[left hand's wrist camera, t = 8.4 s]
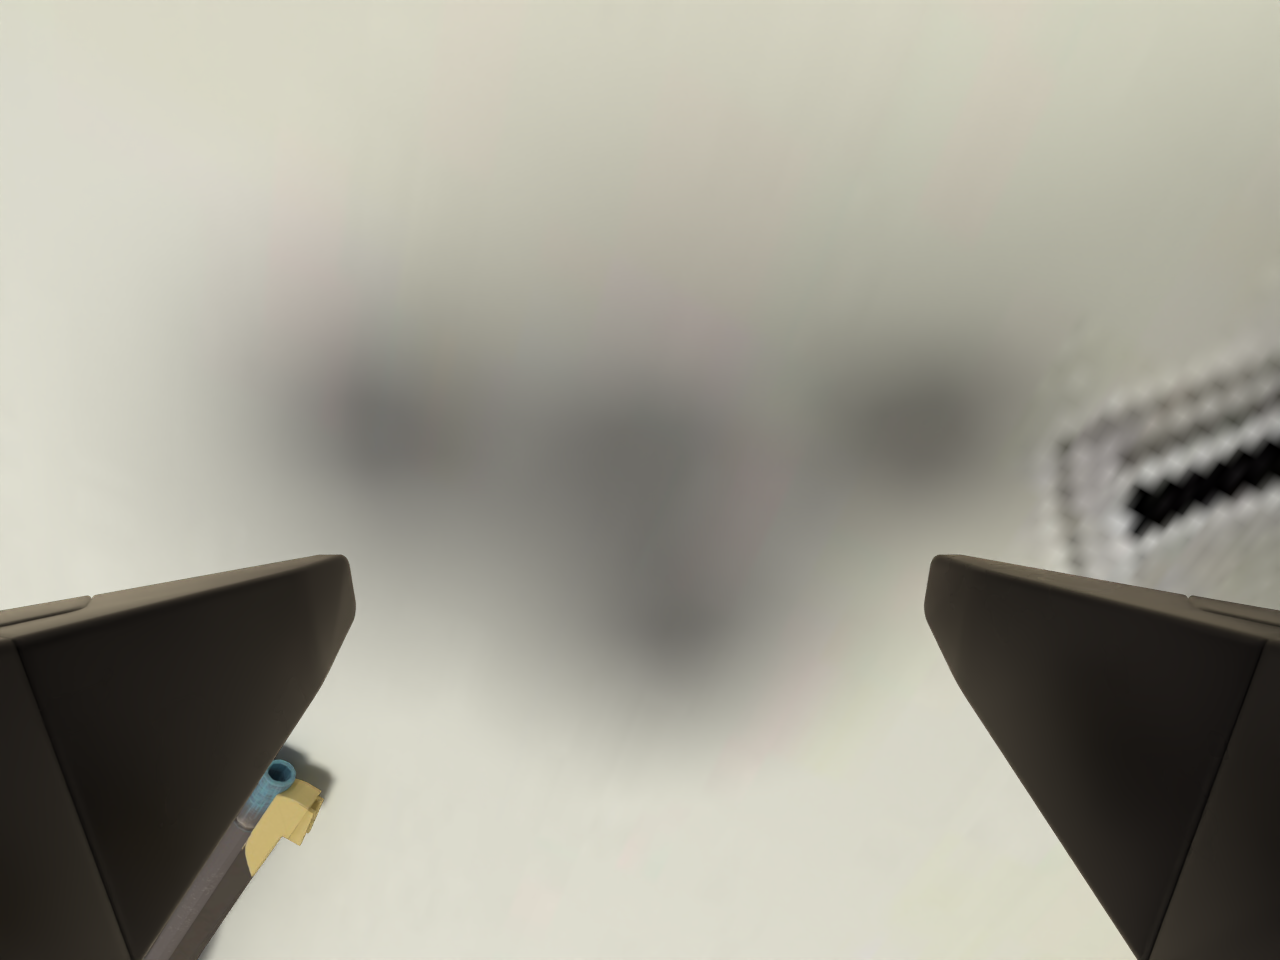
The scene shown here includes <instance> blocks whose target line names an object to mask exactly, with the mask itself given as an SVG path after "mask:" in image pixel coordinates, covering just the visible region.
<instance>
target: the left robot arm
mask: <svg viewBox="0 0 1280 960" xmlns="http://www.w3.org/2000/svg"><path fill="white" fill-rule="evenodd" d="M355 611H356V602H355V595H354V589H353V583H352V577H351V571H350V565H349V562H348V560H347V558H346V557H345V556H343V555H315V556H309V557H304V558H298V559H293V560H287V561H282V562H276V563H271V564H265V565H259V566H254V567H248V568H243V569H237V570H232V571H226V572H221V573H215V574H209V575H204V576H198V577H193V578H187V579H182V580H176V581H171V582H165V583H160V584H154V585H148V586H143V587H137V588H132V589H126V590H121V591H115V592H110V593H104V594H98V595H94V596H93V597H92V599H91V597H90V596H82V597H76V598H71V599H65V600H59V601H53V602H48V603H42V604H36V605H30V606H25V607H19V608H13V609H7V610H1V611H0V960H143V958H144V957H145V955H146V954H147V952H148V951H149V949H150V948H151V946H152V945H153V943H154V941H155V940H156V938H157V937H158V935H159V934H160V932H161V931H162V929H163V928H164V926H165V925H166V923H167V922H168V920H169V919H170V917H171V915H172V914H173V912H174V911H175V909H176V908H177V906H178V905H179V903H180V902H181V900H182V899H183V897H184V896H185V894H186V893H187V891H188V890H189V888H190V886H191V885H192V883H193V882H194V880H195V879H196V877H197V876H198V874H199V873H200V871H201V870H202V868H203V867H204V865H205V864H206V862H207V861H208V859H209V857H210V856H211V854H212V853H213V851H214V850H215V848H216V847H217V845H218V844H219V842H220V841H221V839H222V838H223V836H224V835H225V833H226V831H227V830H228V828H229V827H230V825H231V824H232V822H233V821H234V819H235V818H236V816H237V815H238V813H239V812H240V810H241V809H242V807H243V806H244V804H245V802H246V801H247V799H248V798H249V796H250V795H251V793H252V792H253V790H254V789H255V787H256V786H257V784H258V783H259V781H260V780H261V778H262V777H263V775H264V773H265V772H266V770H267V769H268V767H269V766H270V764H271V763H272V761H273V760H274V758H275V757H276V755H277V754H278V752H279V751H280V749H281V747H282V746H283V744H284V743H285V741H286V740H287V738H288V737H289V735H290V734H291V732H292V731H293V729H294V728H295V726H296V725H297V723H298V722H299V720H300V718H301V717H302V715H303V714H304V712H305V711H306V709H307V708H308V706H309V705H310V703H311V702H312V700H313V699H314V697H315V695H316V694H317V692H318V691H319V689H320V687H321V686H322V684H323V682H324V680H325V678H326V676H327V674H328V672H329V670H330V668H331V666H332V664H333V662H334V660H335V658H336V656H337V654H338V652H339V650H340V647H341V645H342V643H343V641H344V639H345V637H346V635H347V633H348V631H349V629H350V627H351V624H352V622H353V620H354V617H355ZM924 611H925V617H926V620H927V622H928V624H929V627H930V629H931V631H932V633H933V635H934V637H935V639H936V641H937V643H938V645H939V647H940V650H941V652H942V654H943V656H944V658H945V660H946V662H947V664H948V666H949V668H950V670H951V672H952V674H953V676H954V678H955V680H956V682H957V684H958V686H959V687H960V689H961V691H962V692H963V694H964V695H965V697H966V699H967V700H968V702H969V703H970V705H971V706H972V708H973V709H974V711H975V712H976V714H977V715H978V717H979V718H980V720H981V722H982V723H983V725H984V726H985V728H986V729H987V731H988V732H989V734H990V735H991V737H992V738H993V740H994V741H995V743H996V744H997V746H998V747H999V749H1000V750H1001V752H1002V754H1003V755H1004V757H1005V758H1006V760H1007V761H1008V763H1009V764H1010V766H1011V767H1012V769H1013V770H1014V772H1015V773H1016V775H1017V776H1018V778H1019V779H1020V781H1021V783H1022V784H1023V786H1024V787H1025V789H1026V790H1027V792H1028V793H1029V795H1030V796H1031V798H1032V799H1033V801H1034V802H1035V804H1036V805H1037V807H1038V808H1039V810H1040V812H1041V813H1042V815H1043V816H1044V818H1045V819H1046V821H1047V822H1048V824H1049V825H1050V827H1051V828H1052V830H1053V831H1054V833H1055V834H1056V836H1057V838H1058V839H1059V841H1060V842H1061V844H1062V845H1063V847H1064V848H1065V850H1066V851H1067V853H1068V854H1069V856H1070V857H1071V859H1072V860H1073V862H1074V863H1075V865H1076V867H1077V868H1078V870H1079V871H1080V873H1081V874H1082V876H1083V877H1084V879H1085V880H1086V882H1087V883H1088V885H1089V886H1090V888H1091V889H1092V891H1093V893H1094V894H1095V896H1096V897H1097V899H1098V900H1099V902H1100V903H1101V905H1102V906H1103V908H1104V909H1105V911H1106V912H1107V914H1108V915H1109V917H1110V919H1111V920H1112V922H1113V923H1114V925H1115V926H1116V928H1117V929H1118V931H1119V932H1120V934H1121V935H1122V937H1123V938H1124V940H1125V941H1126V943H1127V945H1128V946H1129V948H1130V949H1131V951H1132V952H1133V954H1134V955H1135V957H1136V958H1137V960H1280V611H1279V610H1273V609H1267V608H1261V607H1255V606H1250V605H1244V604H1238V603H1232V602H1227V601H1221V600H1215V599H1209V598H1204V597H1198V596H1190V597H1189V598H1188V597H1187V596H1186V595H1182V594H1177V593H1171V592H1166V591H1160V590H1154V589H1149V588H1143V587H1138V586H1132V585H1127V584H1121V583H1115V582H1110V581H1104V580H1099V579H1093V578H1088V577H1082V576H1076V575H1071V574H1065V573H1060V572H1054V571H1049V570H1043V569H1037V568H1032V567H1026V566H1021V565H1015V564H1010V563H1004V562H998V561H993V560H987V559H982V558H976V557H971V556H965V555H937V556H935V557H934V558H933V560H932V562H931V565H930V571H929V577H928V583H927V589H926V595H925V602H924Z"/></svg>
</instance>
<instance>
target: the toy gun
mask: <svg viewBox="0 0 1280 960" xmlns="http://www.w3.org/2000/svg"><path fill="white" fill-rule="evenodd" d="M295 777H296V771H295V769H294V767H293V765H291V764H290V763H289V762H287V761H284V760H282V759H281V760H273V761H272V763H271V764H270V766H269V767H268V769H267V770H266V772H265V773H264V775H263V777H262V778H261V780H260V781H259V783H258V784H257V786H256V787H255V789H254V790H253V792H252V793H251V795H250V796H249V798H248V799H247V801H246V802H245V804H244V806H243V807H242V809H241V810H240V812H239V813H238V815H237V816H236V818H235V819H234V821H233V822H232V824H231V825H230V827H229V828H228V830H227V831H226V833H225V835H224V836H223V838H222V839H221V841H220V842H219V844H218V845H217V847H216V848H215V850H214V851H213V853H212V854H211V856H210V857H209V859H208V861H207V862H206V864H205V865H204V867H203V868H202V870H201V871H200V873H199V874H198V876H197V877H196V879H195V880H194V882H193V883H192V885H191V886H190V888H189V890H188V891H187V893H186V894H185V896H184V897H183V899H182V900H181V902H180V903H179V905H178V906H177V908H176V909H175V911H174V912H173V914H172V915H171V917H170V919H169V920H168V922H167V923H166V925H165V926H164V928H163V929H162V931H161V932H160V934H159V935H158V937H157V938H156V940H155V941H154V943H153V945H152V946H151V948H150V949H149V951H148V952H147V954H146V955H145V957H144V958H143V960H197V959H198V957H199V955H200V954H201V952H202V951H203V949H204V948H205V946H206V945H207V943H208V942H209V940H210V939H211V937H212V936H213V935H214V933H215V932H216V930H217V929H218V927H219V926H220V924H221V923H222V921H223V920H224V918H225V917H226V915H227V914H228V913H229V911H230V910H231V908H232V907H233V905H234V904H235V902H236V901H237V899H238V898H239V896H240V895H241V893H242V892H243V890H244V889H245V888H246V886H247V885H248V883H249V882H250V880H251V879H252V877H253V876H254V875H255V873H256V872H257V871H258V869H259V868H260V867H261V865H262V864H263V862H264V861H265V860H266V858H267V857H268V856H269V854H270V853H271V851H272V850H273V849H274V847H275V846H276V844H277V843H278V841H279V840H280V838H281V837H282V836H283V837H285V838H287V839H288V840H290V841H292V842H294V843H296V844H297V845H299V846H300V845H301V843H302V841H303V839H304V837H305V834H306V833H309V832H310V830H311V828H312V826H313V823H314V821H315V819H316V816H317V814H318V812H319V809H320V807H321V805H322V802H323V800H324V799H323V798H321V797H320V796H319V794H320V793H321V791H320V790H319V789H317V788H315V787H314V786H312V785H311V784H309V783H307V782H305V781H302V780H299V779H295Z"/></svg>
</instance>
